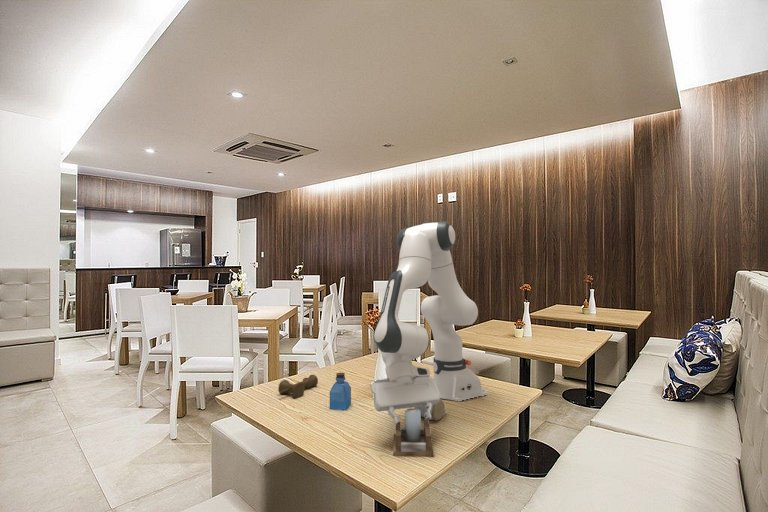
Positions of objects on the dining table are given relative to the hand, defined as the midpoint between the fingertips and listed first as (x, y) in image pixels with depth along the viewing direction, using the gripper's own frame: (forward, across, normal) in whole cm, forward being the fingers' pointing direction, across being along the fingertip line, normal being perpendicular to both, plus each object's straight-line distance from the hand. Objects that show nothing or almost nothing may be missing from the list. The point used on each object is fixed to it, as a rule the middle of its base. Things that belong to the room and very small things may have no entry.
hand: (413, 421), depth 109 cm
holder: (+5, 0, +6) cm, 7 cm away
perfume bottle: (-20, -14, +31) cm, 40 cm away
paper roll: (+4, 0, +5) cm, 6 cm away
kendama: (-35, -28, +46) cm, 64 cm away
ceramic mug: (-7, +14, +18) cm, 24 cm away
